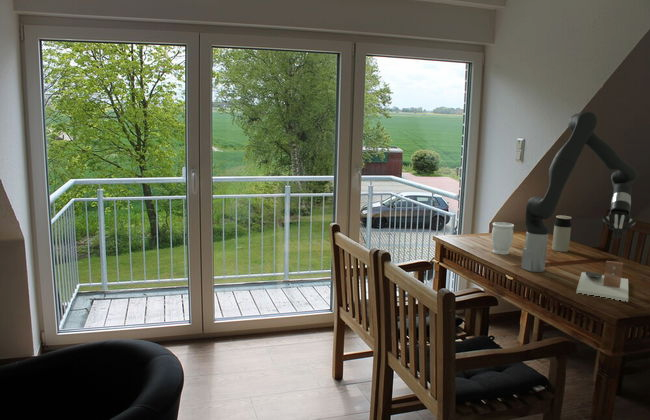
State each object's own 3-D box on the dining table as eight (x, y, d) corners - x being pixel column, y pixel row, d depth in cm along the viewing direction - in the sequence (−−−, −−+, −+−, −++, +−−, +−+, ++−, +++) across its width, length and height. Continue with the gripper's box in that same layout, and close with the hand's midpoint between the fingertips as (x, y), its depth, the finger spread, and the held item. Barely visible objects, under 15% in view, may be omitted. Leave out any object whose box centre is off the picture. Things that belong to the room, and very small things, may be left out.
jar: (504, 256, 267) (507, 227, 264) (485, 252, 275) (488, 223, 272) (515, 253, 274) (518, 224, 271) (497, 249, 282) (499, 221, 279)
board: (581, 275, 239) (581, 271, 239) (627, 282, 231) (628, 279, 230) (576, 293, 214) (576, 289, 214) (627, 302, 206) (628, 298, 205)
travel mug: (569, 252, 278) (573, 218, 275) (552, 251, 280) (556, 217, 277) (567, 249, 286) (571, 216, 283) (551, 247, 288) (554, 214, 285)
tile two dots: (603, 284, 221) (606, 260, 219) (619, 286, 218) (623, 263, 216) (603, 285, 220) (606, 261, 218) (619, 287, 217) (623, 263, 215)
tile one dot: (586, 272, 234) (586, 271, 225) (602, 274, 231) (602, 273, 223) (586, 275, 234) (585, 275, 225) (601, 278, 231) (601, 277, 222)
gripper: (604, 198, 236) (600, 230, 227) (639, 201, 230) (636, 234, 221) (603, 208, 241) (598, 240, 233) (637, 211, 235) (633, 244, 227)
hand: (617, 237), depth 227 cm, fingers closed
